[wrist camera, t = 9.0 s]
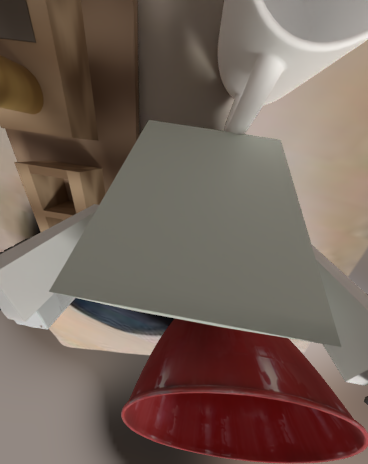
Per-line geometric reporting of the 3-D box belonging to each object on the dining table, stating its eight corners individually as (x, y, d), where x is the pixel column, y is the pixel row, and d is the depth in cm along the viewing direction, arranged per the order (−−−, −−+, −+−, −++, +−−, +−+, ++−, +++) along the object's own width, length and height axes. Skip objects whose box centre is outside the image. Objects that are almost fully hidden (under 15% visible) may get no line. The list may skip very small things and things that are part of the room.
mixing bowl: (319, 276, 24) (465, 433, 11) (269, 360, 38) (306, 477, 24) (149, 262, 27) (95, 375, 13) (158, 346, 40) (136, 444, 27)
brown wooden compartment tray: (-48, -49, 13) (-812, -661, 3) (137, -30, 12) (-105, -697, 3) (50, 235, 26) (-38, 284, 17) (141, 250, 26) (104, 309, 16)
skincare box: (70, 276, 31) (35, 309, 25) (77, 296, 34) (48, 330, 28) (41, 272, 31) (0, 303, 25) (51, 292, 34) (16, 325, 28)
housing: (148, 119, 11) (48, 291, 5) (280, 139, 11) (341, 347, 5) (161, 222, 23) (136, 311, 17) (224, 233, 23) (221, 327, 17)
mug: (251, 159, 18) (303, 168, 9) (187, 128, 17) (169, 101, 8) (341, 5, 12) (760, -434, 3) (249, -53, 11) (442, -880, 2)
